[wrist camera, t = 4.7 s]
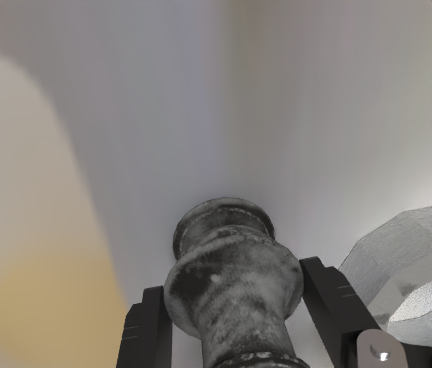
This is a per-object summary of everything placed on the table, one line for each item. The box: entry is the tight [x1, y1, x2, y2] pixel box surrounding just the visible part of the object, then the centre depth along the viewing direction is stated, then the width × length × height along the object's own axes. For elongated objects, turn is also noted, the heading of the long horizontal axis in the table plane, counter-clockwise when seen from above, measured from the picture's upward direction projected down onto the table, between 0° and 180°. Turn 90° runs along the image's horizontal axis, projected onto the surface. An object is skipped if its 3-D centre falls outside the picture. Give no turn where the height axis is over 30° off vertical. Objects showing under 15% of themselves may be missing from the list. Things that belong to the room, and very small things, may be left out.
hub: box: [339, 207, 432, 347], centre depth 18 cm, size 12×11×3 cm
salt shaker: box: [163, 198, 310, 368], centre depth 10 cm, size 6×6×12 cm
